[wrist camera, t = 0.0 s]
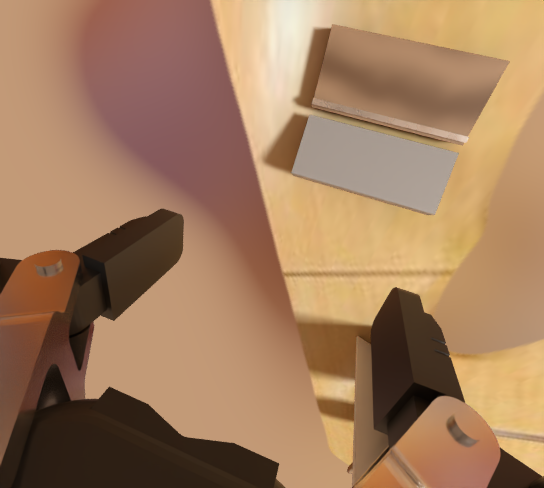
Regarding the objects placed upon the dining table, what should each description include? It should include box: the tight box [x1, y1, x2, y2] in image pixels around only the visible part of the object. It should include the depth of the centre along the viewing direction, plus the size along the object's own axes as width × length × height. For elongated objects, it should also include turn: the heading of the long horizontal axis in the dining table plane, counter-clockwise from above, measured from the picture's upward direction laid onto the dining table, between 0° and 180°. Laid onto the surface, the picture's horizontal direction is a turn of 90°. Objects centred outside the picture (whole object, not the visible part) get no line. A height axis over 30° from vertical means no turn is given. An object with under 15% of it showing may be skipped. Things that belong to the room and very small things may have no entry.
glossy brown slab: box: [312, 24, 510, 145], centre depth 29 cm, size 8×17×2 cm, turn 78°
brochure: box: [352, 336, 389, 487], centre depth 37 cm, size 14×6×30 cm, turn 38°
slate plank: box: [291, 115, 459, 215], centre depth 32 cm, size 7×17×2 cm, turn 77°
